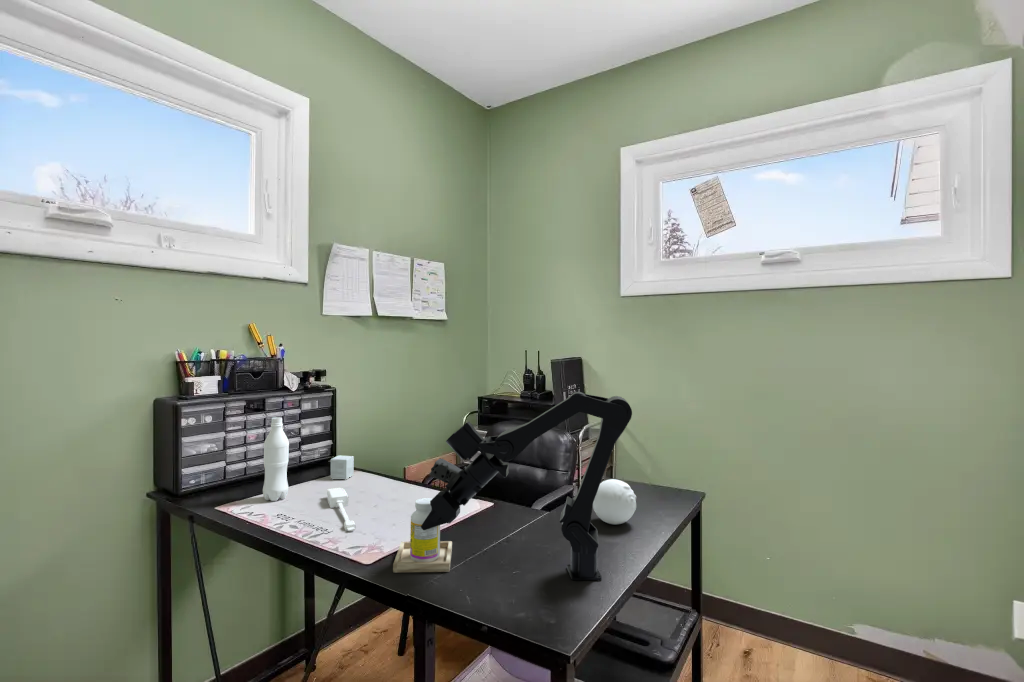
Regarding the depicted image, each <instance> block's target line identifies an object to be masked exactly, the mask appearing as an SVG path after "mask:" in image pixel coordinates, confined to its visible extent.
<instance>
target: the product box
mask: <svg viewBox="0 0 1024 682" xmlns="http://www.w3.org/2000/svg"><path fill="white" fill-rule="evenodd" d="M354 459H355V456H353V455H340V454H338V455H337V456H335V457H332V458H331V459H330V479H331V478H332V479H331V480H333V479H347V478H349V477H351V476H352V475H353V476H355V475H354V474H355V472H354V468H355V467H354V465H355V464H354V462H355V460H354ZM353 476H352V477H353ZM352 477H351V478H352ZM349 479H350V478H349ZM347 480H348V479H347Z"/></svg>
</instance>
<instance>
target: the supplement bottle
mask: <svg viewBox="0 0 1024 682" xmlns="http://www.w3.org/2000/svg"><path fill="white" fill-rule="evenodd" d="M432 499H433V498H431V497H430V498H429V497H425V498H423V497H422V498H418V499H416V500H415V503H414V504H415V505H414V506H415V509H416V510H415V511H413V512H412V513H411V516H410V534H409V535H410V537H409V538H410V541H409V542H410V557H411V559H412V560H413V561H415V562H432V561H434V560H436V559H437V558H438V557H439V555H440V541H441V525H439V526H436V527H433V528H430V529H427V530H423V529H422V528H421V525H422V524H423V522H424V521H425V519H426V518H427V516H428V515H429V513H430V512H431V510H432V508H431V505H430V501H431V500H432Z"/></svg>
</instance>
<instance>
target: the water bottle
mask: <svg viewBox="0 0 1024 682" xmlns="http://www.w3.org/2000/svg"><path fill="white" fill-rule="evenodd" d="M283 426H284V424H283V417H279V416H277V417H276V416H275V417H271V422H270V427H271V428H270V431H269V433H268V434H267V436H266V438H265V440H264V442H263V466H264V481H263V487H262V495H263V498H264V501H271V502H277V501H278V500H279V499H280V500H284V499H286V497H287V495H288V493H289V482H288V477H287V476H288V475H287V472H288V463H289V449H290V448H289V446H290V441H289V439H288V437H287V434H286V433H285V431H284V429H283Z"/></svg>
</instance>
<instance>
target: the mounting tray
mask: <svg viewBox="0 0 1024 682" xmlns="http://www.w3.org/2000/svg"><path fill="white" fill-rule="evenodd" d="M452 550H453V541H451V540H444V541H443V540H440V555H439V557H438V558H437V559H436V560H434V561H432V562H415V561H413V560H412V559H411V557H410V541H401V542H400V545H399V548H398V549H397V553H396V555H395V559H394V561H393V563H392V572H393V573H442V572H443V573H444V572H446V573H447V572H449V573H450V570H451V562H452V561H451V560H452V554H453V551H452Z"/></svg>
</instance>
